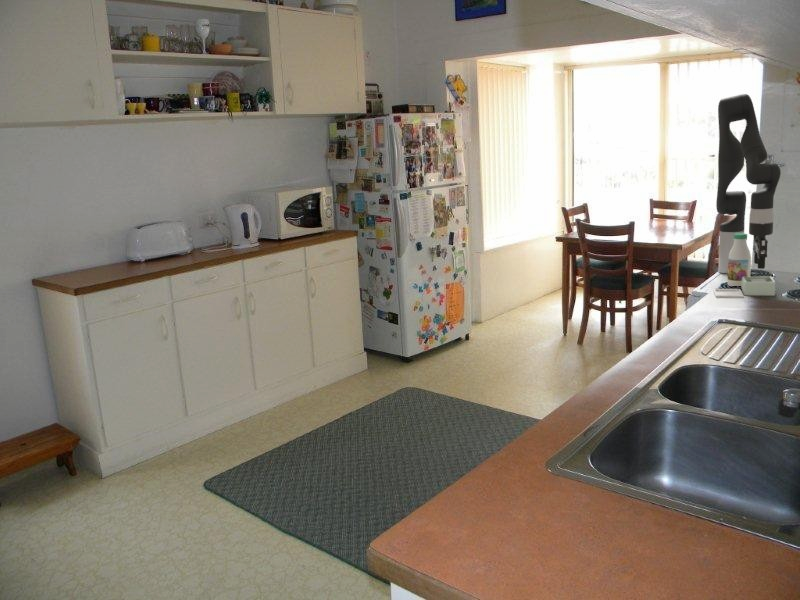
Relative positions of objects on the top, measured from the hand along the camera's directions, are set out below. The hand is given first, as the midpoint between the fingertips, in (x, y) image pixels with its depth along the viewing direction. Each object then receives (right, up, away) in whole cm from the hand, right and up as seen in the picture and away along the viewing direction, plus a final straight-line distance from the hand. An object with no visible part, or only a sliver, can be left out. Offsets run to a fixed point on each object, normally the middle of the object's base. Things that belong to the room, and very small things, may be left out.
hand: (759, 266), depth 248 cm
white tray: (-10, -11, +3) cm, 15 cm away
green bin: (+1, -10, +2) cm, 10 cm away
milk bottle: (0, -7, +15) cm, 17 cm away
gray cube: (0, -10, +2) cm, 10 cm away
